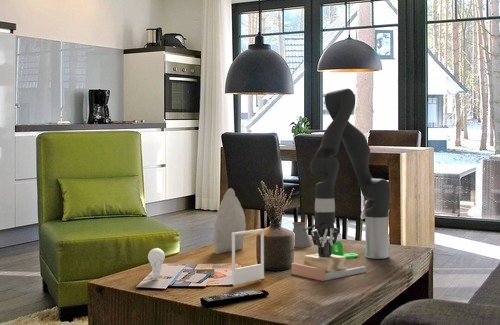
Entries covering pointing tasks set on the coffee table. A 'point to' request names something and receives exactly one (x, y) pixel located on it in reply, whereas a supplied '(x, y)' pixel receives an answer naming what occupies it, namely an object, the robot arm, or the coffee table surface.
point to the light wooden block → (326, 261)
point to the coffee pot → (301, 234)
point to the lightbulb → (156, 260)
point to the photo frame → (249, 271)
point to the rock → (229, 224)
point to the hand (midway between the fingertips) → (324, 255)
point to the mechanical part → (340, 251)
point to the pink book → (323, 272)
